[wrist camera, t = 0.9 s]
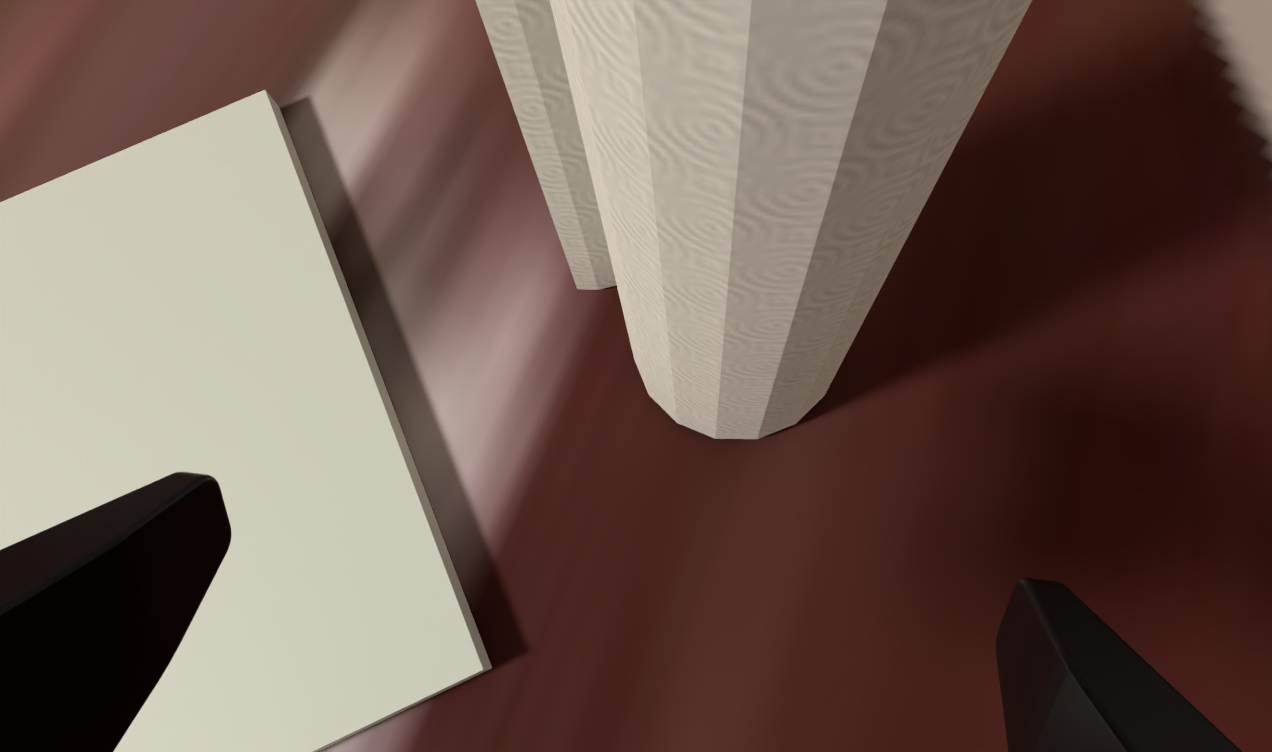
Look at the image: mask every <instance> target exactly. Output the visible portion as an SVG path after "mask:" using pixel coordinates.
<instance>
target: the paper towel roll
mask: <svg viewBox="0 0 1272 752" xmlns="http://www.w3.org/2000/svg"><path fill="white" fill-rule="evenodd" d="M1031 1H1032V0H476V3H477V6H478V9H479V12H480V15H481V17H482V20H483V23H484V26H485V29H486V32H487V34H488V37H489V40H490V43H491V46H492V49H493V51H494V54H495V57H496V60H497V63H498V66H499V68H500V71H501V74H502V77H503V80H504V83H505V85H506V88H507V91H508V94H509V97H510V100H511V102H512V105H513V108H514V111H515V114H516V117H517V119H518V122H519V125H520V128H521V131H522V134H523V136H524V139H525V142H526V145H527V148H528V151H529V153H530V156H531V159H532V162H533V165H534V168H535V170H536V173H537V176H538V179H539V182H540V185H541V187H542V190H543V193H544V196H545V199H546V202H547V204H548V207H549V210H550V213H551V216H552V219H553V222H554V224H555V227H556V230H557V233H558V236H559V239H560V241H561V244H562V247H563V250H564V253H565V256H566V258H567V261H568V264H569V267H570V270H571V273H572V275H573V278H574V281H575V284H576V287H577V289H588V290H600V289H604V288H608V287H612V286H616V285H617V288H618V292H619V297H620V301H621V305H622V309H623V313H624V318H625V322H626V326H627V330H628V335H629V339H630V343H631V347H632V352H633V356H634V360H635V362H636V365H637V367H638V370H639V372H640V374H641V377H642V379H643V382H644V384H645V387H646V389H647V392H648V394H649V396H650V397H652V398H653V399H654V400H655V401H656V402H657V403H658V404H659V405H660V406H661V407H662V408H663V409H664V410H665V411H666V412H667V413H668V414H669V415H670V416H671V417H672V418H673V419H674V420H675V421H676V422H677V423H679V424H681V425H683V426H686V427H688V428H691V429H693V430H696V431H698V432H700V433H703V434H705V435H708V436H710V437H712V438H715V439H759V438H761V437H764V436H766V435H769V434H771V433H774V432H776V431H779V430H782V429H784V428H787V427H789V426H792V425H794V424H796V423H797V422H798V421H799V420H800V419H801V418H802V417H803V416H804V415H805V414H806V413H807V412H808V411H809V410H810V409H811V408H812V407H813V406H814V405H816V404H817V403H818V402H819V401H820V400H821V399H822V398H823V397H824V396H825V394H826V392H827V390H828V388H829V386H830V384H831V382H832V380H833V378H834V377H835V375H836V373H837V371H838V369H839V367H840V365H841V363H842V361H843V359H844V358H845V356H846V354H847V352H848V350H849V348H850V346H851V344H852V342H853V340H854V338H855V337H856V335H857V333H858V331H859V329H860V327H861V325H862V323H863V321H864V319H865V318H866V316H867V314H868V312H869V310H870V308H871V306H872V304H873V302H874V300H875V298H876V297H877V295H878V293H879V291H880V289H881V287H882V285H883V283H884V281H885V279H886V277H887V276H888V274H889V272H890V270H891V268H892V266H893V264H894V262H895V260H896V258H897V257H898V255H899V253H900V251H901V249H902V247H903V245H904V243H905V241H906V239H907V237H908V236H909V234H910V232H911V230H912V228H913V226H914V224H915V222H916V220H917V218H918V217H919V215H920V213H921V211H922V209H923V207H924V205H925V203H926V201H927V199H928V197H929V196H930V194H931V192H932V190H933V188H934V186H935V184H936V182H937V180H938V178H939V177H940V175H941V173H942V171H943V169H944V167H945V165H946V163H947V161H948V159H949V157H950V156H951V154H952V152H953V150H954V148H955V146H956V144H957V142H958V140H959V138H960V137H961V135H962V133H963V131H964V129H965V127H966V125H967V123H968V121H969V119H970V117H971V116H972V114H973V112H974V110H975V108H976V106H977V104H978V102H979V100H980V98H981V97H982V95H983V93H984V91H985V89H986V87H987V85H988V83H989V81H990V79H991V77H992V76H993V74H994V72H995V70H996V68H997V66H998V64H999V62H1000V60H1001V58H1002V57H1003V55H1004V53H1005V51H1006V49H1007V47H1008V45H1009V43H1010V41H1011V39H1012V37H1013V36H1014V34H1015V32H1016V30H1017V28H1018V26H1019V24H1020V22H1021V20H1022V18H1023V17H1024V15H1025V13H1026V11H1027V9H1028V7H1029V5H1030V3H1031Z"/></svg>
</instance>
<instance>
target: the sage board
mask: <svg viewBox="0 0 1272 752" xmlns="http://www.w3.org/2000/svg"><path fill="white" fill-rule="evenodd" d="M175 472H191V473H199V474H207V475H210V476H212V477H214V478H215V479H216V480H217V482H218V483H219V486H220V489H221V493H222V496H223V500H224V503H225V507H226V511H227V514H228V518H229V522H230V525H231V542H230V546H229V549H228V551H227V553H226V555H225V557H224V559H223V561H222V563H221V565H220V567H219V569H218V571H217V573H216V575H215V577H214V579H213V581H212V583H211V585H210V587H209V589H208V590H207V592H206V594H205V596H204V598H203V600H202V602H201V604H200V606H199V608H198V610H197V612H196V614H195V616H194V618H193V620H192V622H191V624H190V626H189V628H188V630H187V632H186V634H185V636H184V638H183V639H182V641H181V643H180V645H179V647H178V649H177V651H176V653H175V654H174V656H173V658H172V660H171V662H170V663H169V665H168V667H167V668H166V670H165V672H164V673H163V675H162V677H161V678H160V680H159V682H158V683H157V685H156V686H155V688H154V689H153V691H152V693H151V694H150V696H149V697H148V699H147V700H146V702H145V703H144V705H143V707H142V708H141V710H140V711H139V713H138V714H137V716H136V717H135V719H134V720H133V722H132V724H131V725H130V727H129V728H128V730H127V731H126V733H125V734H124V736H123V738H122V739H121V741H120V742H119V744H118V745H117V747H116V748H115V750H114V752H319V751H321V750H323V749H325V748H327V747H329V746H331V745H333V744H336V743H338V742H340V741H342V740H344V739H346V738H348V737H350V736H352V735H354V734H356V733H358V732H361V731H363V730H365V729H367V728H369V727H371V726H373V725H375V724H377V723H379V722H381V721H383V720H385V719H388V718H390V717H392V716H394V715H396V714H398V713H400V712H402V711H404V710H406V709H408V708H410V707H413V706H415V705H417V704H419V703H421V702H423V701H425V700H427V699H429V698H431V697H433V696H435V695H438V694H440V693H442V692H444V691H446V690H448V689H450V688H452V687H454V686H456V685H458V684H460V683H463V682H465V681H467V680H469V679H471V678H473V677H475V676H477V675H479V674H481V673H483V672H485V671H487V670H490V669H492V666H491V663H490V661H489V658H488V655H487V653H486V650H485V647H484V645H483V642H482V640H481V637H480V634H479V632H478V629H477V626H476V624H475V621H474V619H473V616H472V613H471V611H470V608H469V605H468V603H467V600H466V597H465V595H464V592H463V590H462V587H461V584H460V582H459V579H458V576H457V574H456V571H455V568H454V566H453V563H452V561H451V558H450V555H449V553H448V550H447V547H446V545H445V542H444V540H443V537H442V534H441V532H440V529H439V526H438V524H437V521H436V518H435V516H434V513H433V511H432V508H431V505H430V503H429V500H428V497H427V495H426V492H425V489H424V487H423V484H422V482H421V479H420V476H419V474H418V471H417V468H416V466H415V463H414V461H413V458H412V455H411V453H410V450H409V447H408V445H407V442H406V439H405V437H404V434H403V432H402V429H401V426H400V424H399V421H398V418H397V416H396V413H395V411H394V408H393V405H392V403H391V400H390V397H389V395H388V392H387V389H386V387H385V384H384V382H383V379H382V376H381V374H380V371H379V368H378V366H377V363H376V360H375V358H374V355H373V353H372V350H371V347H370V345H369V342H368V339H367V337H366V334H365V332H364V329H363V326H362V324H361V321H360V318H359V316H358V313H357V310H356V308H355V305H354V303H353V300H352V297H351V295H350V292H349V289H348V287H347V284H346V281H345V279H344V276H343V274H342V271H341V268H340V266H339V263H338V260H337V258H336V255H335V253H334V250H333V247H332V245H331V242H330V239H329V237H328V234H327V231H326V229H325V226H324V224H323V221H322V218H321V216H320V213H319V210H318V208H317V205H316V203H315V200H314V197H313V195H312V192H311V189H310V187H309V184H308V181H307V179H306V176H305V174H304V171H303V168H302V166H301V163H300V160H299V158H298V155H297V152H296V150H295V147H294V145H293V142H292V139H291V137H290V134H289V131H288V129H287V126H286V124H285V121H284V118H283V116H282V113H281V110H280V108H279V106H278V105H277V104H276V103H275V101H274V100H273V99H272V98H271V96H270V95H269V94H268V93H267V91H266V90H263V91H261V92H258V93H256V94H254V95H251V96H249V97H247V98H244V99H242V100H240V101H237V102H235V103H233V104H230V105H228V106H226V107H223V108H221V109H218V110H216V111H214V112H211V113H209V114H207V115H204V116H202V117H200V118H197V119H195V120H193V121H190V122H188V123H186V124H183V125H181V126H179V127H176V128H174V129H172V130H169V131H167V132H165V133H162V134H160V135H157V136H155V137H153V138H150V139H148V140H146V141H143V142H141V143H139V144H136V145H134V146H132V147H129V148H127V149H125V150H122V151H120V152H118V153H115V154H113V155H111V156H108V157H106V158H104V159H101V160H99V161H96V162H94V163H92V164H89V165H87V166H85V167H82V168H80V169H78V170H75V171H73V172H71V173H68V174H66V175H64V176H61V177H59V178H57V179H54V180H52V181H50V182H47V183H45V184H43V185H40V186H38V187H35V188H33V189H31V190H28V191H26V192H24V193H21V194H19V195H17V196H14V197H12V198H10V199H7V200H5V201H3V202H0V550H1V549H3V548H6V547H8V546H10V545H12V544H15V543H17V542H19V541H21V540H24V539H26V538H28V537H30V536H33V535H35V534H37V533H39V532H42V531H44V530H46V529H48V528H51V527H53V526H55V525H57V524H60V523H62V522H64V521H66V520H69V519H71V518H73V517H75V516H78V515H80V514H82V513H84V512H87V511H89V510H91V509H94V508H96V507H98V506H100V505H103V504H105V503H107V502H109V501H112V500H114V499H116V498H118V497H121V496H123V495H125V494H127V493H130V492H132V491H134V490H136V489H139V488H141V487H143V486H145V485H148V484H150V483H152V482H154V481H157V480H159V479H161V478H163V477H166V476H168V475H170V474H173V473H175Z"/></svg>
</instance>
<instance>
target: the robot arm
mask: <svg viewBox="0 0 1272 752" xmlns="http://www.w3.org/2000/svg"><path fill="white" fill-rule="evenodd" d="M230 542H231V525H230V522H229V518H228V514H227V511H226V507H225V503H224V500H223V496H222V493H221V489H220V486H219V483H218V482H217V480H216V479H215V478H214V477H212V476H210V475H207V474H199V473H191V472H175V473H173V474H170V475H168V476H166V477H163V478H161V479H159V480H157V481H154V482H152V483H150V484H148V485H145V486H143V487H141V488H139V489H136V490H134V491H132V492H130V493H127V494H125V495H123V496H121V497H118V498H116V499H114V500H112V501H109V502H107V503H105V504H103V505H100V506H98V507H96V508H94V509H91V510H89V511H87V512H84V513H82V514H80V515H78V516H75V517H73V518H71V519H69V520H66V521H64V522H62V523H60V524H57V525H55V526H53V527H51V528H48V529H46V530H44V531H42V532H39V533H37V534H35V535H33V536H30V537H28V538H26V539H24V540H21V541H19V542H17V543H15V544H12V545H10V546H8V547H6V548H3V549H1V550H0V752H114V750H115V748H116V747H117V745H118V744H119V742H120V741H121V739H122V738H123V736H124V734H125V733H126V731H127V730H128V728H129V727H130V725H131V724H132V722H133V720H134V719H135V717H136V716H137V714H138V713H139V711H140V710H141V708H142V707H143V705H144V703H145V702H146V700H147V699H148V697H149V696H150V694H151V693H152V691H153V689H154V688H155V686H156V685H157V683H158V682H159V680H160V678H161V677H162V675H163V673H164V672H165V670H166V668H167V667H168V665H169V663H170V662H171V660H172V658H173V656H174V654H175V653H176V651H177V649H178V647H179V645H180V643H181V641H182V639H183V638H184V636H185V634H186V632H187V630H188V628H189V626H190V624H191V622H192V620H193V618H194V616H195V614H196V612H197V610H198V608H199V606H200V604H201V602H202V600H203V598H204V596H205V594H206V592H207V590H208V589H209V587H210V585H211V583H212V581H213V579H214V577H215V575H216V573H217V571H218V569H219V567H220V565H221V563H222V561H223V559H224V557H225V555H226V553H227V551H228V549H229V546H230ZM996 656H997V664H998V672H999V680H1000V688H1001V696H1002V704H1003V712H1004V720H1005V728H1006V735H1007V743H1008V751H1009V752H1242V751H1241V750H1240V749H1239V748H1238V747H1237V746H1236V745H1235V744H1234V743H1233V742H1232V741H1230V740H1229V739H1228V738H1227V737H1226V736H1225V735H1224V734H1223V733H1222V732H1221V731H1220V730H1219V729H1218V728H1217V727H1216V726H1215V725H1213V724H1212V723H1211V722H1210V721H1209V720H1208V719H1207V718H1206V717H1205V716H1204V715H1203V714H1202V713H1201V712H1200V711H1199V710H1197V709H1196V708H1195V707H1194V706H1193V705H1192V704H1191V703H1190V702H1189V701H1188V700H1187V699H1186V698H1185V697H1184V696H1183V695H1182V694H1180V693H1179V692H1178V691H1177V690H1176V689H1175V688H1174V687H1173V686H1172V685H1171V684H1170V683H1169V682H1168V681H1167V680H1166V679H1165V678H1163V677H1162V676H1161V675H1160V674H1159V673H1158V672H1157V671H1156V670H1155V669H1154V668H1153V667H1152V666H1151V665H1150V664H1149V663H1147V662H1146V661H1145V660H1144V659H1143V658H1142V657H1141V656H1140V655H1139V654H1138V653H1137V652H1136V651H1135V650H1134V649H1133V648H1132V647H1130V646H1129V645H1128V644H1127V643H1126V642H1125V641H1124V640H1123V639H1122V638H1121V637H1120V636H1119V635H1118V634H1117V633H1116V632H1114V631H1113V630H1112V629H1111V628H1110V627H1109V626H1108V625H1107V624H1106V623H1105V622H1104V621H1103V620H1102V619H1101V618H1100V617H1099V616H1097V615H1096V614H1095V613H1094V612H1093V611H1092V610H1091V609H1090V608H1089V607H1088V606H1087V605H1086V604H1085V603H1084V602H1083V601H1081V600H1080V599H1079V598H1078V597H1077V596H1076V595H1075V594H1074V593H1073V592H1072V591H1071V590H1070V589H1069V588H1067V587H1066V586H1065V585H1064V584H1062V583H1059V582H1056V581H1049V580H1041V579H1033V578H1023V579H1021V580H1019V581H1018V582H1017V583H1016V585H1015V587H1014V589H1013V592H1012V594H1011V597H1010V600H1009V603H1008V605H1007V608H1006V611H1005V614H1004V616H1003V619H1002V622H1001V624H1000V627H999V630H998V634H997V639H996Z"/></svg>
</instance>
